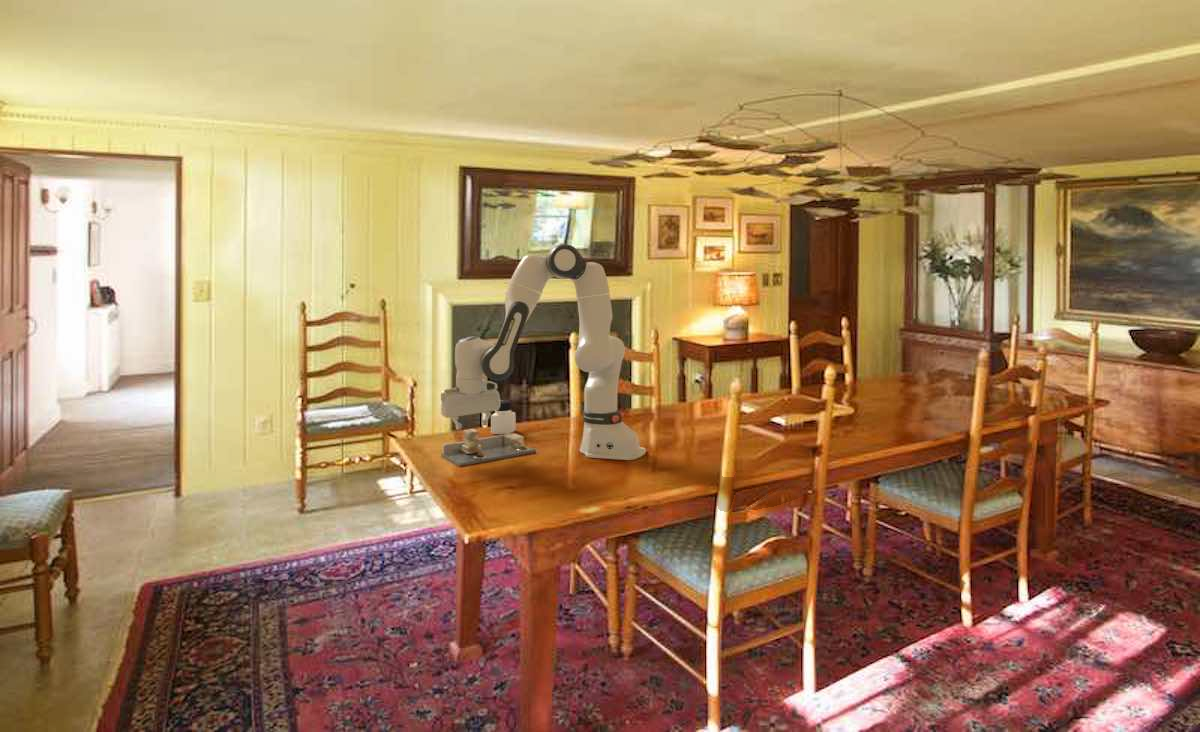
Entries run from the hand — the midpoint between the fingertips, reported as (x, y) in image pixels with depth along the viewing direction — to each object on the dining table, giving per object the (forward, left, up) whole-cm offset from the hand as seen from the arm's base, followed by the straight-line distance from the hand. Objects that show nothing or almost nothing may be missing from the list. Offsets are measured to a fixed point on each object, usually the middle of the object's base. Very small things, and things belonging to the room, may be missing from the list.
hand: (472, 426), depth 247 cm
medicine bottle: (+8, -31, -10) cm, 33 cm away
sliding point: (-1, +1, -8) cm, 9 cm away
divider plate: (-4, -3, -10) cm, 11 cm away
